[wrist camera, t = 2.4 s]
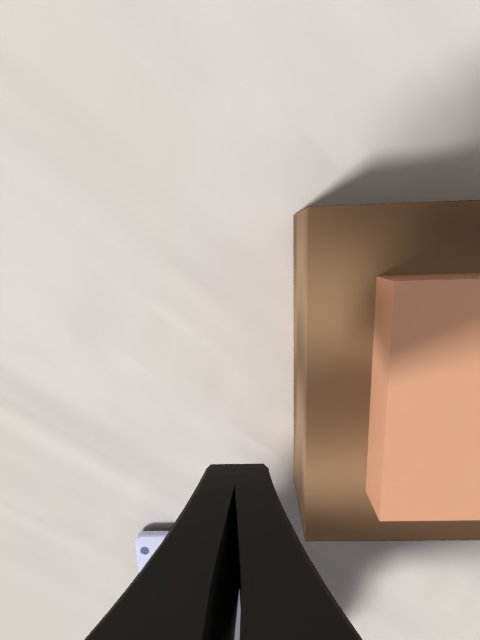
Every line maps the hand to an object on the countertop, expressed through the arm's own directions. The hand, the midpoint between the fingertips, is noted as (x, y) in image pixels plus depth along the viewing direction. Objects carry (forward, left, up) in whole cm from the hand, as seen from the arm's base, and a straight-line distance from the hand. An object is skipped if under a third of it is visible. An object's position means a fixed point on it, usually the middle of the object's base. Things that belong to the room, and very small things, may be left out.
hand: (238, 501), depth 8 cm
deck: (0, -7, -10) cm, 12 cm away
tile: (0, -8, -6) cm, 10 cm away
